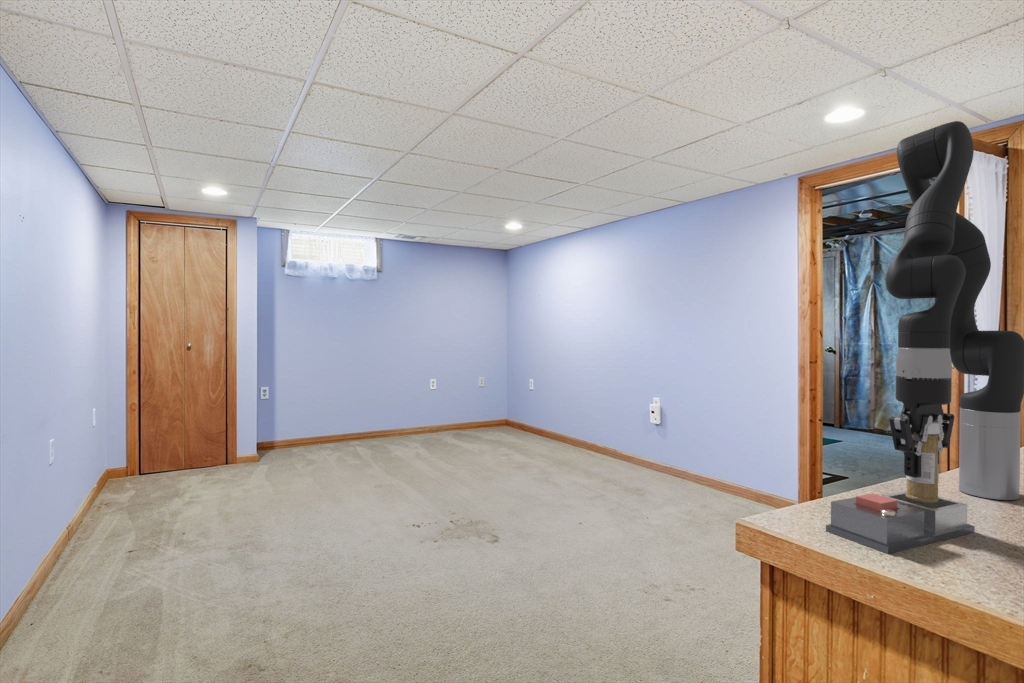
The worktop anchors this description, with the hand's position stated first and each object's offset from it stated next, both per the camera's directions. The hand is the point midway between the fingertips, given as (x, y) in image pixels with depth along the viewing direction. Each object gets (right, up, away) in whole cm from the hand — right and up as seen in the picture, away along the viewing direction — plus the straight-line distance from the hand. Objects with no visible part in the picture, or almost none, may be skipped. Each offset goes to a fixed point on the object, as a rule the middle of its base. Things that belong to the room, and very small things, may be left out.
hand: (921, 474), depth 91 cm
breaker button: (-11, -8, -5) cm, 14 cm away
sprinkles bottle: (0, -4, 0) cm, 4 cm away
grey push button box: (-5, -9, -2) cm, 11 cm away
